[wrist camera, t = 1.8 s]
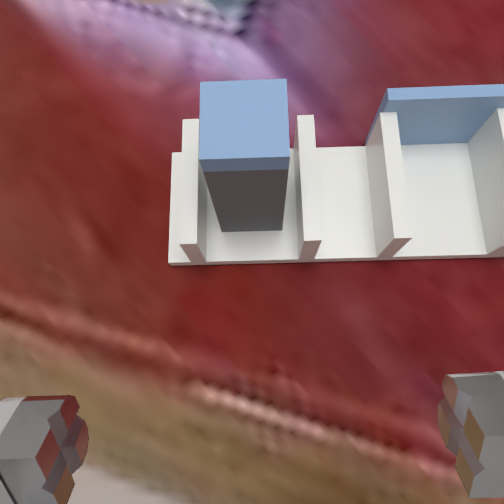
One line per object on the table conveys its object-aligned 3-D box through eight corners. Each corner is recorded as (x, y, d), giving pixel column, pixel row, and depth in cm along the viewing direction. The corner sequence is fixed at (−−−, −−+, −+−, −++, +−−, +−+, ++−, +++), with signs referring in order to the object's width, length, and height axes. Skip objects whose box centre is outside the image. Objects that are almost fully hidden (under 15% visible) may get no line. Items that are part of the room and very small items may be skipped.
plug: (221, 232, 29) (199, 159, 19) (221, 177, 30) (200, 82, 20) (282, 230, 28) (289, 156, 19) (279, 175, 30) (286, 78, 20)
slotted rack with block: (170, 265, 29) (146, 238, 23) (174, 148, 31) (154, 97, 26) (519, 256, 28) (584, 226, 22) (496, 137, 31) (549, 82, 25)
